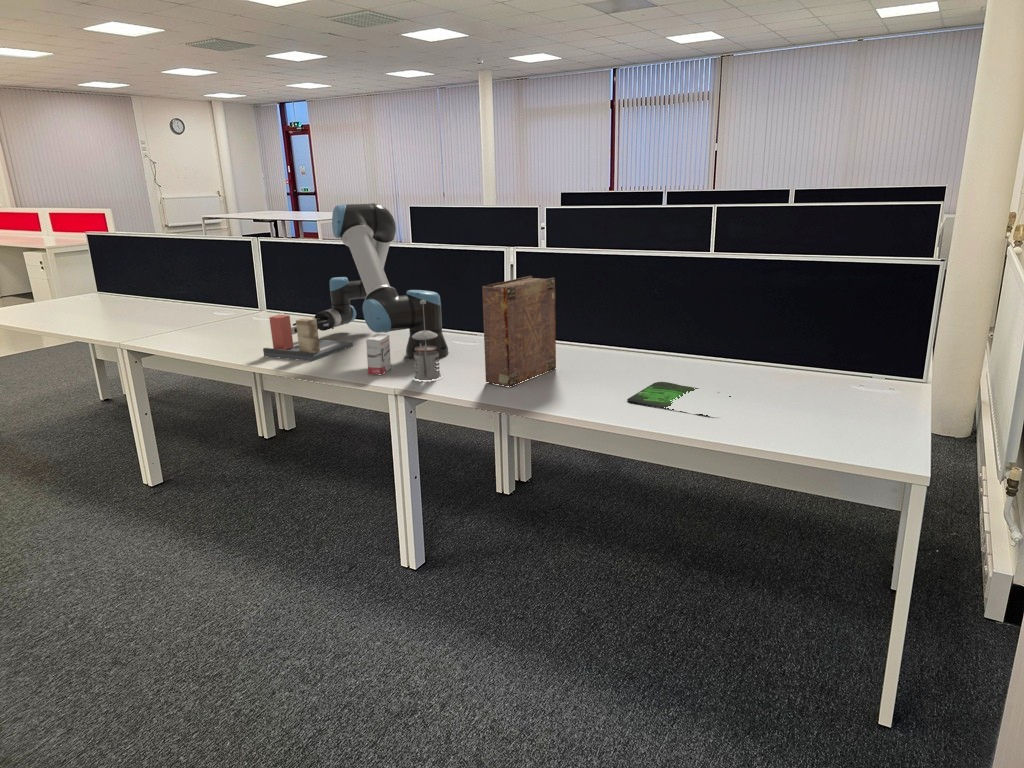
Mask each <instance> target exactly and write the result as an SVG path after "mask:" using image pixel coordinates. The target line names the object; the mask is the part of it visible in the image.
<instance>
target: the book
mask: <svg viewBox="0 0 1024 768" xmlns="http://www.w3.org/2000/svg"><path fill="white" fill-rule="evenodd" d="M481 293H482V314H483V317H482V319H483V337H484V338H483V339H484V342H483V343H484V344H483V345H484V366H485V368H484V369H485V370H484V371H485V383H486V382H489V383H494V384H499V385H504V386H509V387H510V386H513V385H515V384H518V383H520V382H522V381H525V380H527V379H530V378H532V377H535V376H537V375H540V374H543V373H545V372H547V371H550V370H553V369H555V368H556V369H557V353H556V352H557V351H556V350H557V349H556V348H557V346H556V345H557V343H556V340H557V337H556V335H557V334H556V330H557V329H556V328H557V327H556V324H557V323H556V278H555V277H551V278H541V277H540V278H539V277H537V278H536V277H533V276H532V275H529V276H523V277H519V278H514V279H509V280H506V281H501V282H496V283H490V284H487V285H482V291H481ZM556 369H555V370H556ZM553 371H554V370H553ZM550 372H551V371H550ZM545 374H546V373H545ZM543 375H544V374H543ZM518 385H519V384H518Z"/></svg>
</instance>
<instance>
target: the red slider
mask: <svg viewBox="0 0 1024 768" xmlns="http://www.w3.org/2000/svg"><path fill="white" fill-rule="evenodd" d="M269 325H270V334H271V340H272V347H273V348H272V349H283V350H286V349H289V348H292V347H293V343H294V340H293V335H292V331H291V326H292V324H291V316H290V315H289V314H276V315H273V316H270V317H269Z"/></svg>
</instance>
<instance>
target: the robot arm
mask: <svg viewBox="0 0 1024 768" xmlns="http://www.w3.org/2000/svg"><path fill="white" fill-rule="evenodd" d="M331 225H332V226H331V227H332V228H331V229H332V233H333V236H334V238H336V239H341V241H342V243H343V244H344V245H345V247H348V248H349V251H350V253H351V255H352V259H353V260H354V265H355V266H356V269H357V272H358V275H359V277H360V279H359V280H350V281H349V279H348V277H347V276H340V277H339V276H337V277H331V278H330V280H329V293H330V300H331V301H330V302H331V308H329V309H326V310H323V311H319V312H317V313H316V314H315V315H314V317H313V318H315V319H316V320H317V329H318V331H322V332H324V331H328V330H334V329H335V328H336V327H340V326H343V325H348V324H350V323H352V322H353V321H354V320H355V319H356V318H357V310H356V309H355V307H354V306H353V305H351V300H358V299H359V300H360V299H364V301H363V303H362V313H363V319H364V321H365V324H366V325H367V327H368V328H369V329H370V330H371V332H374V333H376V334H378V333H379V334H380V333H388V332H395V331H402V330H408V329H409V337H408V341H407V345H406V347H405V348H406V349H405V356H406V357H407V358H408V357H409V359H411V358H414V353H415V352H417V351H415V348H416V347H419V346H420V343H421V346H425V340H416V339H413V338H412V336H413V335H414V334H415V333H417V332H419V331H423V330H424V321H425V330H426V331H432V332H434V333H436V334H438V336H437V337H436V338H433V339H429V340H426V344H427V346H436V347H437V349H436V350H435V351H438V353H439V357H438V358H437V359H441V358H444V357H446V356H448V355H449V347H448V344H447V341H446V339H445V336H444V334H443V322H442V321H443V320H442V317H443V316H442V302H441V296H440V294H439V293H438V292H435V291H431V290H425V289H424V290H422V289H409V290H406V294H405V295H399V294H398V293H399V292H398V291H397V289H396V288H395V287H393V286H391V285H390V282H389V280H388V278H387V275H386V272H385V265H386V260H387V256H388V253H389V248H390V245H391V242H393V241H394V239H395V237H396V232H397V231H396V230H397V226H396V221H395V219H394V216H393V214H392V213H391V212H390V210H389V209H388V208H386V207H385V206H383V205H381V204H380V203H379V204H378V203H375V202H373V203H356V204H354V203H351V204H350V203H349V204H346V203H345V204H340V205H339V204H337V205H335V206H334V207H333V210H332V218H331ZM421 300H425V301H426V304H420V301H421ZM423 305H424V316H423ZM291 331H292V336H293V335H297V326H296V322H295V323H292V325H291ZM447 354H448V355H447ZM443 356H444V357H443ZM440 357H441V358H440ZM414 359H415V358H414ZM414 359H413V360H414ZM415 360H416V359H415Z"/></svg>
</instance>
